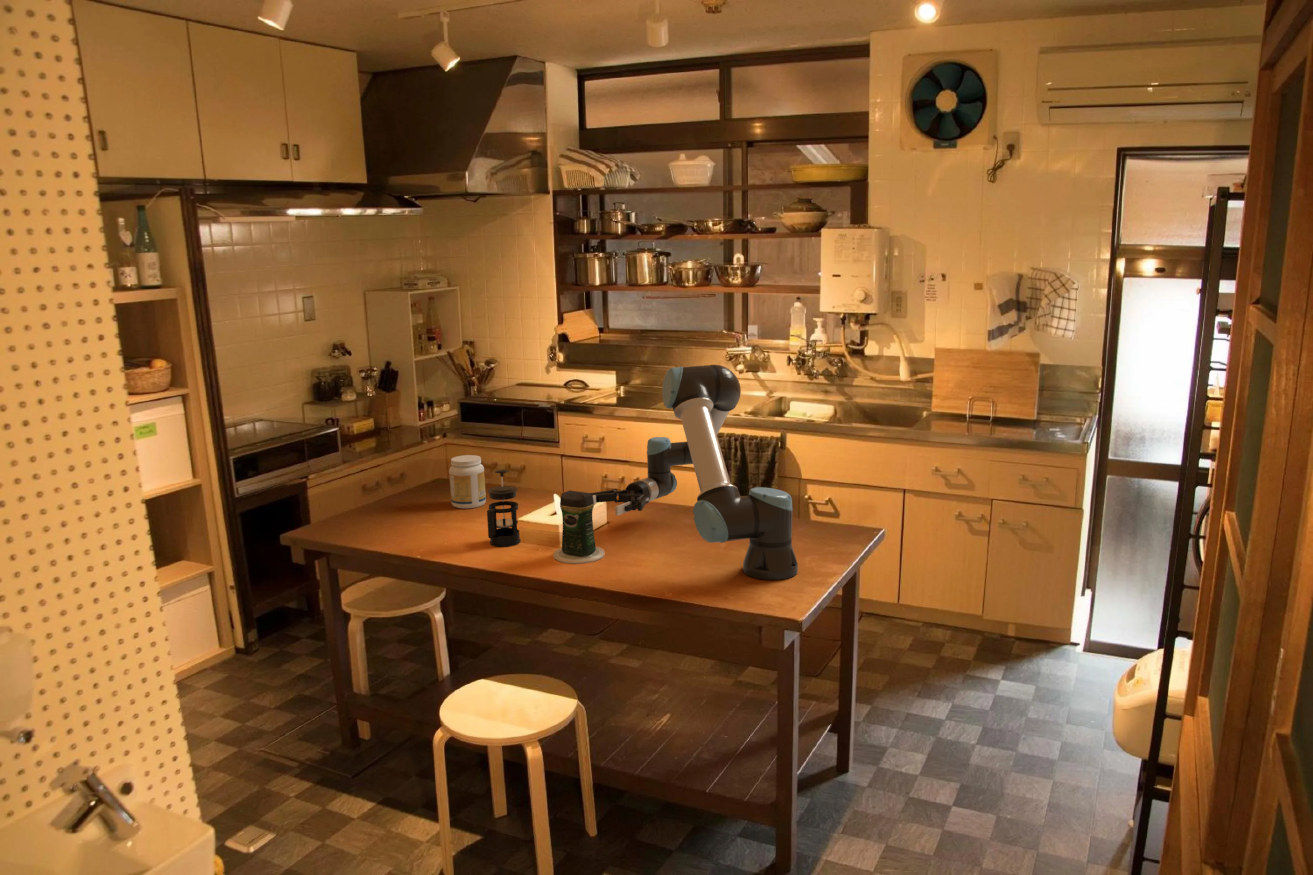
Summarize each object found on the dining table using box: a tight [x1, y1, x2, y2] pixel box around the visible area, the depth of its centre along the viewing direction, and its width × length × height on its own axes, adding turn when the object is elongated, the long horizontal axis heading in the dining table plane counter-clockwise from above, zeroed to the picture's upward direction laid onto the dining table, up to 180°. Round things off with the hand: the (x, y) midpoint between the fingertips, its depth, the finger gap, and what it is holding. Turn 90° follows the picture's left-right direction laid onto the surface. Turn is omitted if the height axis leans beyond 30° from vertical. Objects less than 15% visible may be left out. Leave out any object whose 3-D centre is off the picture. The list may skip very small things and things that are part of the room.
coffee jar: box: [559, 490, 596, 556], centre depth 279 cm, size 10×8×19 cm
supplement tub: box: [448, 454, 487, 510], centre depth 335 cm, size 12×12×17 cm
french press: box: [486, 468, 521, 548], centre depth 292 cm, size 12×9×23 cm
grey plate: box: [553, 545, 605, 565], centre depth 281 cm, size 15×15×1 cm
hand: (598, 507), depth 286 cm, fingers open, 13 cm apart
